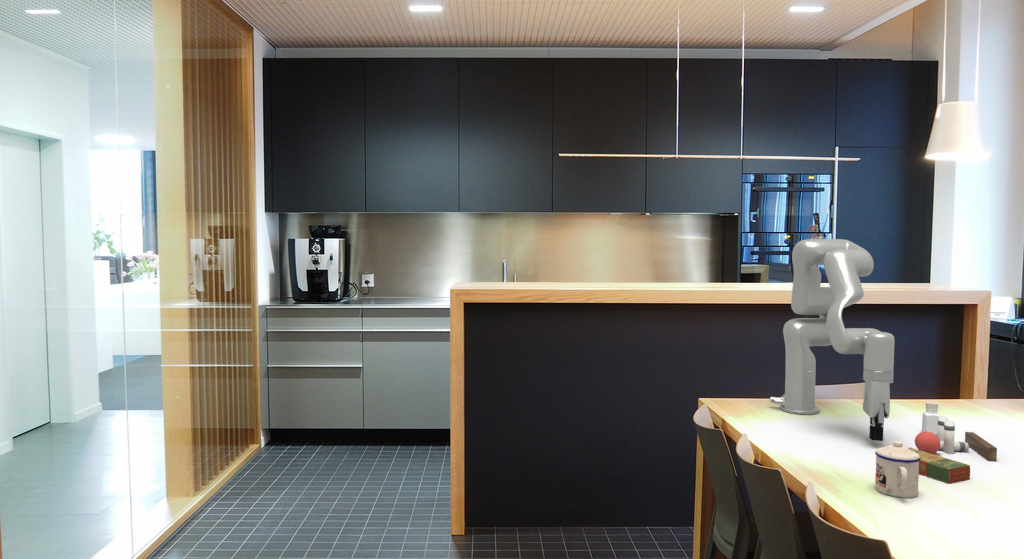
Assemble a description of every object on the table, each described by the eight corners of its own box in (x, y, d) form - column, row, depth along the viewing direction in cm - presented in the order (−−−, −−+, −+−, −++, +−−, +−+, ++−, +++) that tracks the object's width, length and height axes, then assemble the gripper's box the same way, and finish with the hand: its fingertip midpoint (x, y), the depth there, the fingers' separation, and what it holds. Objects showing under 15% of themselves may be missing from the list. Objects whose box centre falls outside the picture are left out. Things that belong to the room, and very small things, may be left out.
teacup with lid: (870, 483, 166) (872, 434, 165) (913, 487, 163) (915, 438, 163) (881, 500, 154) (882, 449, 154) (927, 505, 152) (929, 452, 151)
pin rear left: (938, 448, 194) (939, 418, 194) (935, 445, 197) (936, 416, 196) (948, 448, 194) (949, 418, 193) (945, 446, 196) (946, 416, 196)
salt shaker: (940, 436, 207) (942, 404, 206) (926, 435, 207) (927, 404, 207) (935, 432, 210) (936, 401, 210) (921, 431, 211) (922, 401, 211)
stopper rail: (987, 460, 183) (988, 447, 183) (964, 443, 199) (965, 431, 199) (996, 461, 183) (997, 448, 183) (972, 444, 198) (973, 432, 198)
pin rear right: (944, 453, 189) (945, 422, 189) (941, 450, 192) (942, 420, 191) (955, 454, 189) (956, 423, 188) (952, 451, 191) (953, 421, 191)
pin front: (934, 443, 192) (969, 445, 190) (931, 438, 194) (966, 440, 192) (933, 451, 193) (968, 453, 191) (930, 446, 195) (964, 448, 193)
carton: (909, 462, 183) (909, 446, 183) (970, 481, 169) (971, 464, 169) (887, 466, 180) (888, 449, 180) (948, 485, 165) (949, 468, 165)
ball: (935, 460, 189) (911, 451, 193) (942, 440, 191) (918, 431, 194) (936, 454, 184) (911, 444, 188) (944, 433, 186) (919, 425, 189)
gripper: (857, 370, 204) (855, 432, 205) (870, 380, 190) (868, 446, 191) (885, 371, 202) (883, 433, 203) (900, 381, 188) (898, 448, 189)
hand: (876, 439), depth 197 cm, fingers closed
